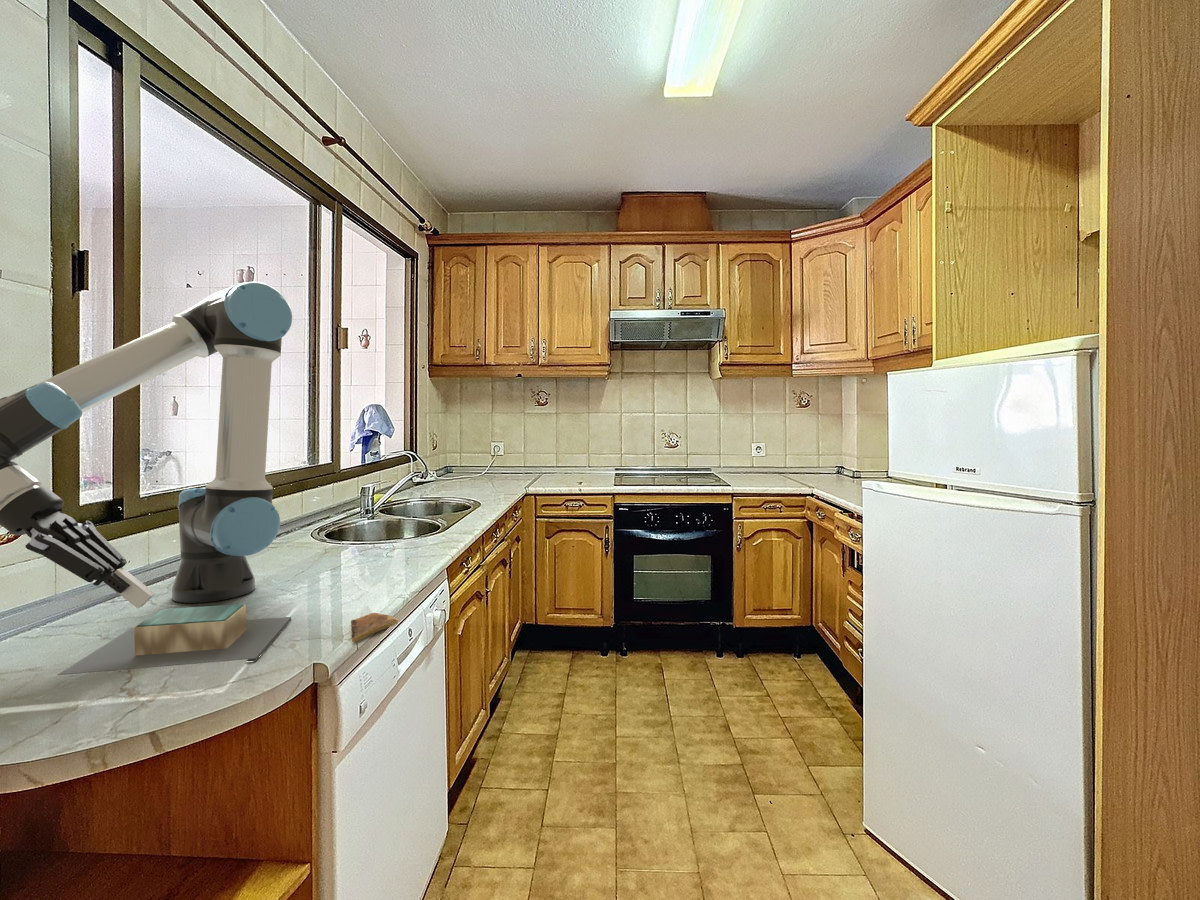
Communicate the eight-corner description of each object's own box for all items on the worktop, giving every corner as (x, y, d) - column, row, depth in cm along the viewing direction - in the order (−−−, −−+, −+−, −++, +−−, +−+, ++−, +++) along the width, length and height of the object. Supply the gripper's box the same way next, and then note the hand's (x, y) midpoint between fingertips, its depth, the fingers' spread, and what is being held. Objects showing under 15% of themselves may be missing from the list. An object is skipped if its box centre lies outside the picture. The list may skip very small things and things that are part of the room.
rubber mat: (58, 678, 87) (57, 674, 87) (131, 631, 107) (131, 628, 107) (255, 661, 93) (255, 658, 93) (291, 620, 113) (291, 616, 113)
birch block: (133, 626, 94) (226, 619, 97) (161, 608, 103) (245, 603, 106) (135, 655, 94) (227, 648, 97) (162, 635, 103) (246, 629, 106)
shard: (352, 646, 101) (352, 635, 101) (320, 639, 104) (320, 629, 104) (399, 626, 111) (399, 616, 110) (369, 620, 114) (369, 611, 114)
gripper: (29, 513, 99) (149, 606, 104) (-35, 527, 86) (105, 632, 91) (66, 480, 100) (183, 573, 104) (7, 489, 87) (143, 595, 92)
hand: (146, 600), depth 98 cm, fingers closed
